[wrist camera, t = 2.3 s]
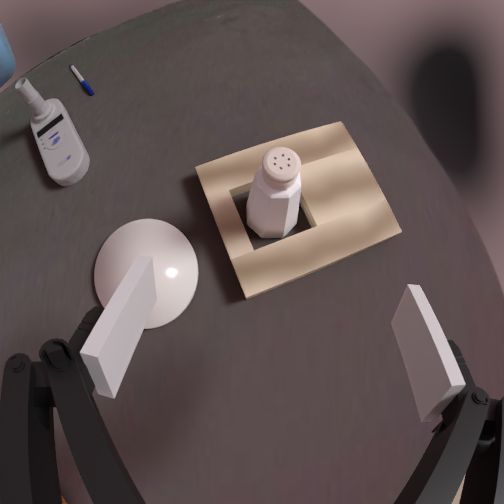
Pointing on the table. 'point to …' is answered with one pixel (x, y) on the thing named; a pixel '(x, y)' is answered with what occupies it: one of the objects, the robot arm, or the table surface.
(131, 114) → the table surface
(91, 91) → the ballpoint pen
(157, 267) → the saucer
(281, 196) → the pepper shaker
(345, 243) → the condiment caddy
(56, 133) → the electronic device
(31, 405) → the robot arm
